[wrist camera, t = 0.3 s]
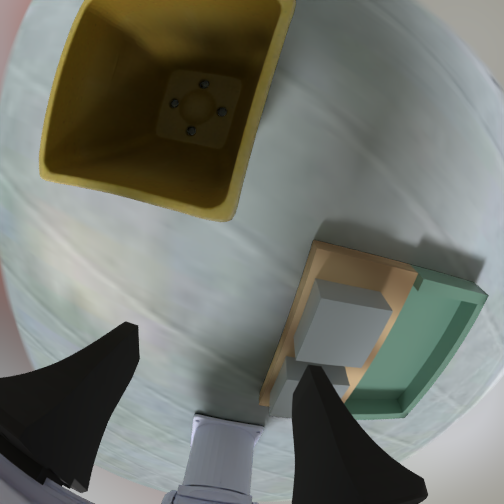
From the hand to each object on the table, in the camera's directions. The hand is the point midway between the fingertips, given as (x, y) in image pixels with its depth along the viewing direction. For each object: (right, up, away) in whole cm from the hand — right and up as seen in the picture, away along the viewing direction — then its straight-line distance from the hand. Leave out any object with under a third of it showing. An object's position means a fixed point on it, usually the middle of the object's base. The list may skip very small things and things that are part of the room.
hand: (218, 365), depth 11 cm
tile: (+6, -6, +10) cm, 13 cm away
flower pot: (-2, +14, +5) cm, 15 cm away
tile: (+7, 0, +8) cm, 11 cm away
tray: (+16, -4, +11) cm, 20 cm away
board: (+8, -3, +11) cm, 13 cm away
